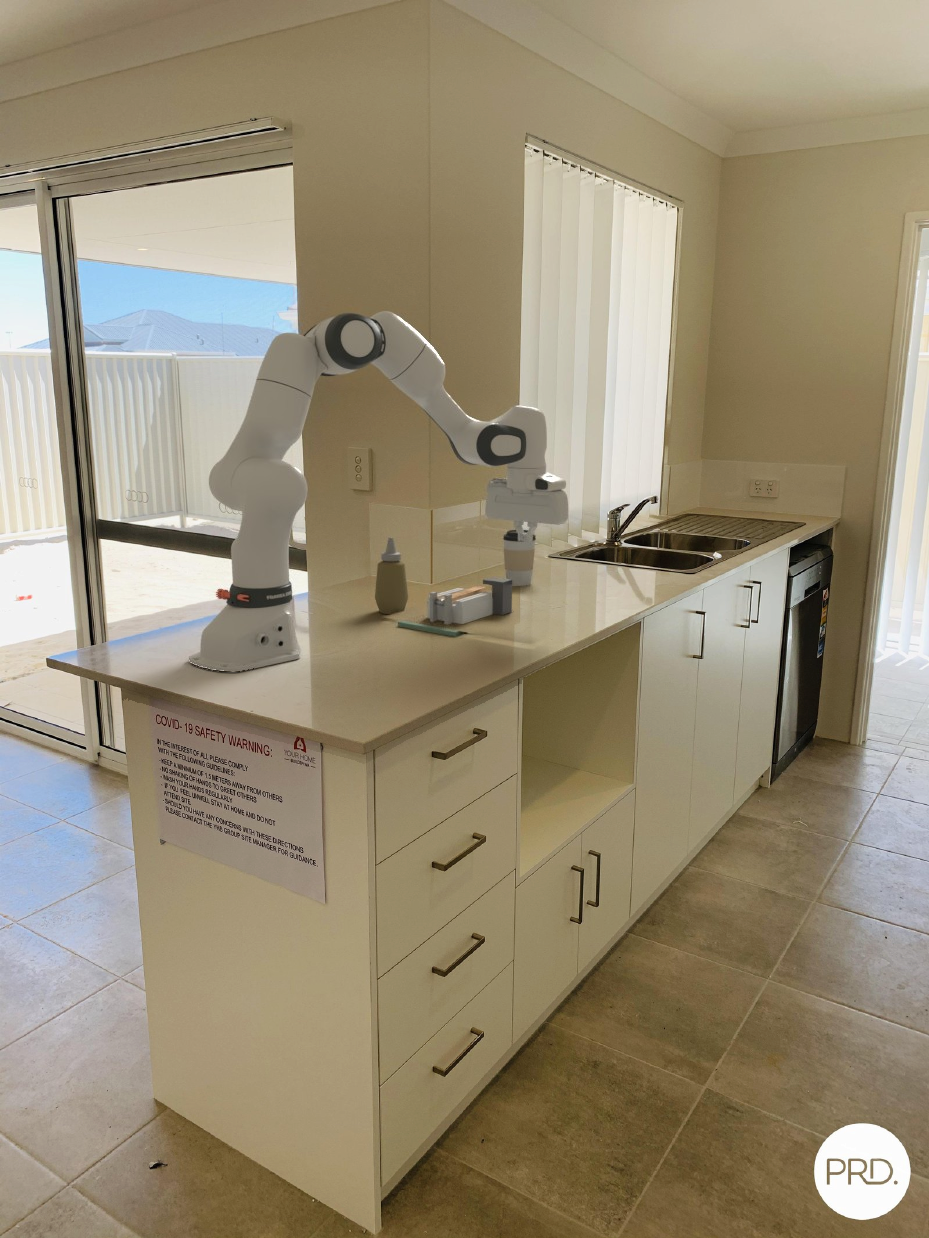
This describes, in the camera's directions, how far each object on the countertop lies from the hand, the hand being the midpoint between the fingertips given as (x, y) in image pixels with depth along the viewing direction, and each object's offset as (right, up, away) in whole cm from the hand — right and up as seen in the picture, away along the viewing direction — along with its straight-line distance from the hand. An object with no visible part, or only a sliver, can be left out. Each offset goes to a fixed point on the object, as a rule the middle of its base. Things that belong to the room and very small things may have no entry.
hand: (525, 541), depth 214 cm
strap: (-15, -13, +3) cm, 20 cm away
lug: (-6, -16, +8) cm, 19 cm away
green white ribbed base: (-15, -18, +3) cm, 24 cm away
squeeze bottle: (-31, -16, +12) cm, 37 cm away
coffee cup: (+1, -8, +47) cm, 47 cm away
